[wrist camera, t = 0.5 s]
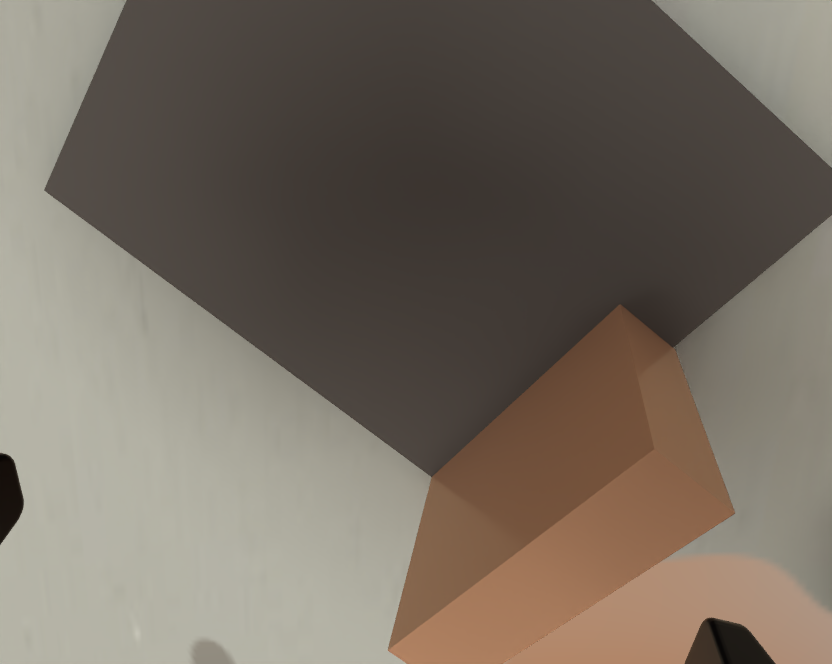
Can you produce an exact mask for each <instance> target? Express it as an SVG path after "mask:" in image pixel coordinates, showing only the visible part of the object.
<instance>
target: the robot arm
mask: <svg viewBox="0 0 832 664" xmlns="http://www.w3.org/2000/svg"><path fill="white" fill-rule="evenodd" d="M23 506H24V499H23V495H22V491H21V486H20V482H19V478H18V474H17V470H16V466H15V463H14V460H13V459H12V458H11V457H10V456H9V455H7V454H3V453H0V544H1V543H2V542H3V540H4V539H5V537H6V536H7V535H8V533H9V532H10V531H11V529H12V528H13V526H14V525H15V524H16V522H17V521H18V519H19V517H20V515H21V513H22V510H23ZM685 664H775V663H774V661H773V660H772V659H771V658H770V656H769V655H768V654H767V652H766V651H765V650H764V649H763V647H762V646H761V645H760V644H759V642H758V641H757V640H756V639H755V637H754V636H753V635H752V633H751V632H750V631H749V630H748V629H747V628H746V627H744V626H742V625H741V624H737V623H733V622H729V621H724V620H720V619H716V618H707V619H705V620H704V621H703V623H702V624H701V626H700V628H699V631H698V633H697V635H696V638H695V640H694V642H693V645H692V647H691V650H690V652H689V654H688V656H687V659H686V661H685Z"/></svg>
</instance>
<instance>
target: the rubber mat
mask: <svg viewBox="0 0 832 664" xmlns="http://www.w3.org/2000/svg"><path fill="white" fill-rule="evenodd" d="M44 191H46V192H47V193H48V194H50V195H51V196H53V197H54V198H55V199H57V200H58V201H59V202H61V203H62V204H63V205H65V206H66V207H67V208H69V209H70V210H71V211H73V212H74V213H76V214H77V215H78V216H80V217H81V218H82V219H84V220H85V221H86V222H88V223H89V224H90V225H92V226H93V227H94V228H96V229H97V230H99V231H100V232H101V233H103V234H104V235H105V236H107V237H108V238H109V239H111V240H112V241H113V242H115V243H116V244H117V245H119V246H120V247H121V248H123V249H124V250H126V251H127V252H128V253H130V254H131V255H132V256H134V257H135V258H136V259H138V260H139V261H140V262H142V263H143V264H144V265H146V266H147V267H149V268H150V269H151V270H153V271H154V272H155V273H157V274H158V275H159V276H161V277H162V278H163V279H165V280H166V281H167V282H169V283H170V284H172V285H173V286H174V287H176V288H177V289H178V290H180V291H181V292H182V293H184V294H185V295H186V296H188V297H189V298H190V299H192V300H193V301H195V302H196V303H197V304H199V305H200V306H201V307H203V308H204V309H205V310H207V311H208V312H209V313H211V314H212V315H213V316H215V317H216V318H217V319H219V320H220V321H222V322H223V323H224V324H226V325H227V326H228V327H230V328H231V329H232V330H234V331H235V332H236V333H238V334H239V335H240V336H242V337H243V338H245V339H246V340H247V341H249V342H250V343H251V344H253V345H254V346H255V347H257V348H258V349H259V350H261V351H262V352H263V353H265V354H266V355H268V356H269V357H270V358H272V359H273V360H274V361H276V362H277V363H278V364H280V365H281V366H282V367H284V368H285V369H286V370H288V371H289V372H291V373H292V374H293V375H295V376H296V377H297V378H299V379H300V380H301V381H303V382H304V383H305V384H307V385H308V386H309V387H311V388H312V389H313V390H315V391H316V392H318V393H319V394H320V395H322V396H323V397H324V398H326V399H327V400H328V401H330V402H331V403H332V404H334V405H335V406H336V407H338V408H339V409H341V410H342V411H343V412H345V413H346V414H347V415H349V416H350V417H351V418H353V419H354V420H355V421H357V422H358V423H359V424H361V425H362V426H364V427H365V428H366V429H368V430H369V431H370V432H372V433H373V434H374V435H376V436H377V437H378V438H380V439H381V440H382V441H384V442H385V443H387V444H388V445H389V446H391V447H392V448H393V449H395V450H396V451H397V452H399V453H400V454H401V455H403V456H404V457H405V458H407V459H408V460H409V461H411V462H412V463H414V464H415V465H416V466H418V467H419V468H420V469H422V470H423V471H424V472H426V473H427V474H428V475H430V476H431V477H432V476H433V475H435V474H436V473H437V472H438V471H439V470H440V469H441V468H442V467H443V466H444V465H445V464H447V463H448V462H449V461H450V460H451V459H452V458H453V457H454V456H455V455H456V454H457V453H459V452H460V451H461V450H462V449H463V448H464V447H465V446H466V445H467V444H468V443H469V442H470V441H472V440H473V439H474V438H475V437H476V436H477V435H478V434H479V433H480V432H481V431H482V430H484V429H485V428H486V427H487V426H488V425H489V424H490V423H491V422H492V421H493V420H494V419H496V418H497V417H498V416H499V415H500V414H501V413H502V412H503V411H504V410H505V409H506V408H507V407H509V406H510V405H511V404H512V403H513V402H514V401H515V400H516V399H517V398H518V397H519V396H521V395H522V394H523V393H524V392H525V391H526V390H527V389H528V388H529V387H530V386H531V385H532V384H534V383H535V382H536V381H537V380H538V379H539V378H540V377H541V376H542V375H543V374H544V373H546V372H547V371H548V370H549V369H550V368H551V367H552V366H553V365H554V364H555V363H556V362H558V361H559V360H560V359H561V358H562V357H563V356H564V355H565V354H566V353H567V352H568V351H569V350H571V349H572V348H573V347H574V346H575V345H576V344H577V343H578V342H579V341H580V340H581V339H583V338H584V337H585V336H586V335H587V334H588V333H589V332H590V331H591V330H592V329H593V328H595V327H596V326H597V325H598V324H599V323H600V322H601V321H602V320H603V319H604V318H605V317H606V316H608V315H609V314H610V313H611V312H612V311H613V310H614V309H615V308H616V307H617V306H618V305H620V304H621V305H622V306H623V307H624V308H626V309H627V310H628V311H629V312H630V313H632V314H633V315H634V316H635V317H636V318H638V319H639V320H640V321H641V322H642V323H644V324H645V325H646V326H647V327H648V328H650V329H651V330H652V331H653V332H654V333H656V334H657V335H658V336H659V337H660V338H662V339H663V340H664V341H665V342H666V343H668V344H669V345H670V346H671V347H674V346H675V345H676V344H678V343H679V342H680V341H681V340H682V339H684V338H685V337H686V336H687V335H688V334H690V333H691V332H692V331H693V330H694V329H696V328H697V327H698V326H699V325H700V324H702V323H703V322H704V321H705V320H706V319H708V318H709V317H710V316H711V315H712V314H714V313H715V312H716V311H717V310H718V309H720V308H721V307H722V306H723V305H724V304H726V303H727V302H728V301H729V300H730V299H732V298H733V297H734V296H735V295H736V294H738V293H739V292H740V291H741V290H742V289H744V288H745V287H746V286H747V285H748V284H750V283H751V282H752V281H753V280H754V279H756V278H757V277H758V276H759V275H760V274H762V273H763V272H764V271H765V270H766V269H768V268H769V267H770V266H771V265H772V264H774V263H775V262H776V261H777V260H778V259H779V258H781V257H782V256H783V255H784V254H785V253H787V252H788V251H789V250H790V249H791V248H793V247H794V246H795V245H796V244H797V243H799V242H800V241H801V240H802V239H803V238H805V237H806V236H807V235H808V234H809V233H811V232H812V231H813V230H814V229H815V228H817V227H818V226H819V225H820V224H821V223H823V222H824V221H825V220H826V219H827V218H829V217H830V216H831V215H832V168H831V167H830V166H829V165H828V164H827V163H826V162H824V161H823V160H822V159H821V158H820V157H819V156H818V155H817V154H816V153H815V152H814V151H813V150H812V149H810V148H809V147H808V146H807V145H806V144H805V143H804V142H803V141H802V140H801V139H800V138H799V137H798V136H797V135H795V134H794V133H793V132H792V131H791V130H790V129H789V128H788V127H787V126H786V125H785V124H784V123H783V122H781V121H780V120H779V119H778V118H777V117H776V116H775V115H774V114H773V113H772V112H771V111H770V110H769V109H768V108H766V107H765V106H764V105H763V104H762V103H761V102H760V101H759V100H758V99H757V98H756V97H755V96H754V95H752V94H751V93H750V92H749V91H748V90H747V89H746V88H745V87H744V86H743V85H742V84H741V83H740V82H739V81H737V80H736V79H735V78H734V77H733V76H732V75H731V74H730V73H729V72H728V71H727V70H726V69H725V68H723V67H722V66H721V65H720V64H719V63H718V62H717V61H716V60H715V59H714V58H713V57H712V56H711V55H710V54H708V53H707V52H706V51H705V50H704V49H703V48H702V47H701V46H700V45H699V44H698V43H697V42H696V41H694V40H693V39H692V38H691V37H690V36H689V35H688V34H687V33H686V32H685V31H684V30H683V29H682V28H681V27H679V26H678V25H677V24H676V23H675V22H674V21H673V20H672V19H671V18H670V17H669V16H668V15H667V14H665V13H664V12H663V11H662V10H661V9H660V8H659V7H658V6H657V5H656V4H655V3H654V2H653V1H652V0H127V1H126V3H125V5H124V8H123V10H122V12H121V15H120V17H119V19H118V21H117V24H116V26H115V28H114V31H113V33H112V35H111V38H110V40H109V42H108V44H107V47H106V49H105V51H104V54H103V56H102V58H101V61H100V63H99V65H98V68H97V70H96V72H95V74H94V77H93V79H92V81H91V84H90V86H89V88H88V91H87V93H86V95H85V97H84V100H83V102H82V104H81V107H80V109H79V111H78V114H77V116H76V118H75V120H74V123H73V125H72V127H71V130H70V132H69V134H68V137H67V139H66V141H65V144H64V146H63V148H62V150H61V153H60V155H59V157H58V160H57V162H56V164H55V167H54V169H53V171H52V173H51V176H50V178H49V180H48V183H47V185H46V187H45V190H44Z"/></svg>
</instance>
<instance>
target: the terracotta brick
mask: <svg viewBox="0 0 832 664" xmlns="http://www.w3.org/2000/svg"><path fill="white" fill-rule="evenodd" d="M733 514H735V511H734V509H733V506H732V503H731V501H730V498H729V495H728V492H727V490H726V487H725V484H724V481H723V479H722V476H721V473H720V471H719V468H718V465H717V462H716V460H715V457H714V454H713V451H712V449H711V446H710V443H709V441H708V438H707V435H706V432H705V430H704V427H703V424H702V421H701V419H700V416H699V413H698V411H697V408H696V405H695V402H694V400H693V397H692V394H691V392H690V389H689V386H688V383H687V381H686V378H685V375H684V372H683V370H682V367H681V364H680V362H679V359H678V356H677V353H676V351H675V349H674V348H673V347H671V346H670V345H669V344H668V343H666V342H665V341H664V340H663V339H662V338H660V337H659V336H658V335H657V334H656V333H654V332H653V331H652V330H651V329H650V328H648V327H647V326H646V325H645V324H644V323H642V322H641V321H640V320H639V319H638V318H636V317H635V316H634V315H633V314H632V313H630V312H629V311H628V310H627V309H626V308H624V307H623V306H622V305H621V304H620V305H618V306H617V307H616V308H615V309H614V310H613V311H612V312H611V313H610V314H609V315H608V316H606V317H605V318H604V319H603V320H602V321H601V322H600V323H599V324H598V325H597V326H596V327H595V328H593V329H592V330H591V331H590V332H589V333H588V334H587V335H586V336H585V337H584V338H583V339H581V340H580V341H579V342H578V343H577V344H576V345H575V346H574V347H573V348H572V349H571V350H569V351H568V352H567V353H566V354H565V355H564V356H563V357H562V358H561V359H560V360H559V361H558V362H556V363H555V364H554V365H553V366H552V367H551V368H550V369H549V370H548V371H547V372H546V373H544V374H543V375H542V376H541V377H540V378H539V379H538V380H537V381H536V382H535V383H534V384H532V385H531V386H530V387H529V388H528V389H527V390H526V391H525V392H524V393H523V394H522V395H521V396H519V397H518V398H517V399H516V400H515V401H514V402H513V403H512V404H511V405H510V406H509V407H507V408H506V409H505V410H504V411H503V412H502V413H501V414H500V415H499V416H498V417H497V418H496V419H494V420H493V421H492V422H491V423H490V424H489V425H488V426H487V427H486V428H485V429H484V430H482V431H481V432H480V433H479V434H478V435H477V436H476V437H475V438H474V439H473V440H472V441H470V442H469V443H468V444H467V445H466V446H465V447H464V448H463V449H462V450H461V451H460V452H459V453H457V454H456V455H455V456H454V457H453V458H452V459H451V460H450V461H449V462H448V463H447V464H445V465H444V466H443V467H442V468H441V469H440V470H439V471H438V472H437V473H436V474H435V475H433V476H432V478H431V482H430V486H429V490H428V494H427V498H426V502H425V506H424V510H423V514H422V518H421V522H420V525H419V529H418V533H417V537H416V541H415V545H414V549H413V553H412V557H411V561H410V565H409V569H408V573H407V576H406V580H405V584H404V588H403V592H402V596H401V600H400V604H399V608H398V612H397V616H396V620H395V624H394V628H393V631H392V635H391V639H390V643H389V647H388V651H389V652H391V653H392V654H394V655H395V656H397V657H398V658H400V659H401V660H403V661H404V662H405V663H407V664H503V663H504V662H506V661H507V660H509V659H511V658H512V657H514V656H515V655H517V654H518V653H520V652H521V651H523V650H524V649H526V648H528V647H529V646H530V645H532V644H534V643H535V642H537V641H538V640H540V639H542V638H543V637H544V636H546V635H548V634H549V633H551V632H552V631H554V630H555V629H557V628H558V627H560V626H561V625H563V624H565V623H566V622H568V621H569V620H571V619H572V618H574V617H576V616H577V615H579V614H580V613H581V612H583V611H585V610H586V609H588V608H589V607H591V606H593V605H594V604H596V603H597V602H599V601H600V600H602V599H603V598H605V597H606V596H608V595H610V594H611V593H613V592H614V591H616V590H617V589H619V588H620V587H622V586H624V585H625V584H627V583H628V582H630V581H631V580H633V579H634V578H636V577H637V576H639V575H640V574H642V573H644V572H645V571H647V570H648V569H650V568H651V567H653V566H654V565H656V564H658V563H659V562H661V561H662V560H664V559H665V558H667V557H668V556H670V555H671V554H673V553H675V552H676V551H678V550H679V549H681V548H682V547H684V546H685V545H687V544H688V543H690V542H692V541H693V540H695V539H696V538H698V537H699V536H701V535H702V534H704V533H705V532H707V531H709V530H710V529H712V528H713V527H715V526H716V525H718V524H719V523H721V522H723V521H724V520H726V519H727V518H729V517H730V516H732V515H733Z"/></svg>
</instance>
